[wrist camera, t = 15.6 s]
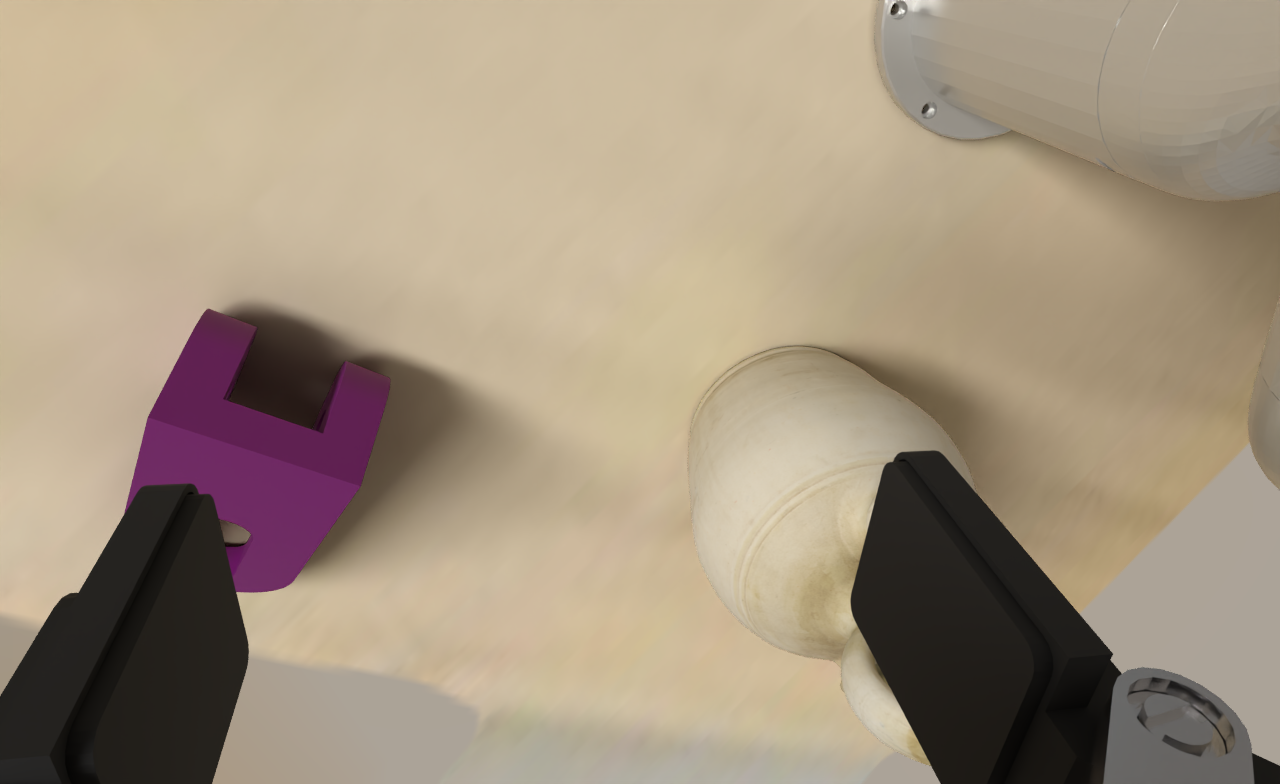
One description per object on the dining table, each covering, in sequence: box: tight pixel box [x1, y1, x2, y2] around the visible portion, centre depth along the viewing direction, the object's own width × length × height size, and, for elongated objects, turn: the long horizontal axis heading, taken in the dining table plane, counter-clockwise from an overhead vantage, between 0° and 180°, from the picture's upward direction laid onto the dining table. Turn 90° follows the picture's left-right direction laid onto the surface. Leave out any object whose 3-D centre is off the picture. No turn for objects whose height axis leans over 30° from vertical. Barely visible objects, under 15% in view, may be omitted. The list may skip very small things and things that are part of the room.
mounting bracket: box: [124, 309, 390, 592], centre depth 46 cm, size 9×8×18 cm
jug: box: [688, 346, 977, 766], centre depth 43 cm, size 15×16×25 cm
